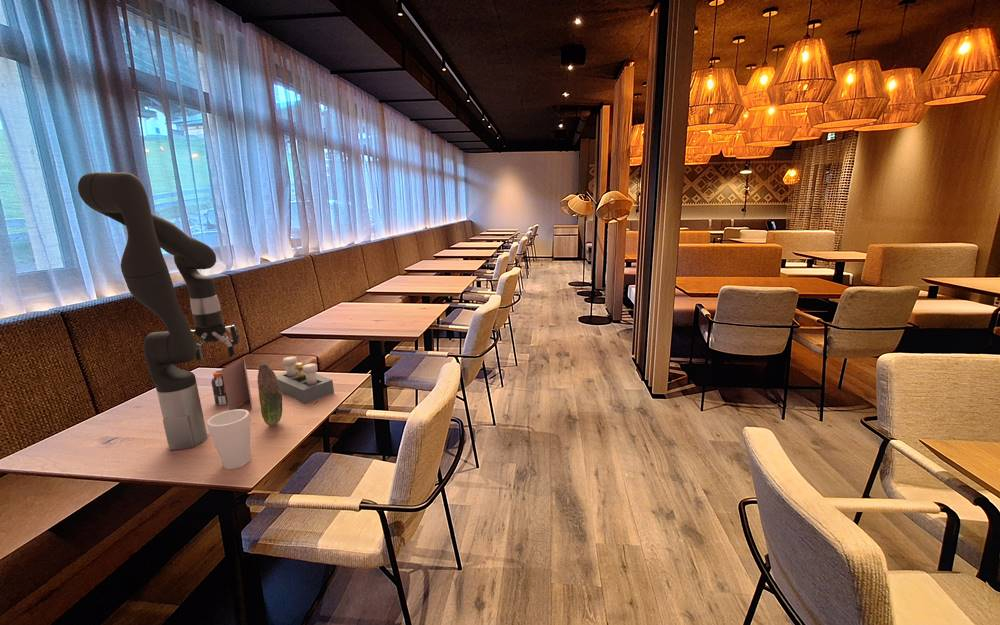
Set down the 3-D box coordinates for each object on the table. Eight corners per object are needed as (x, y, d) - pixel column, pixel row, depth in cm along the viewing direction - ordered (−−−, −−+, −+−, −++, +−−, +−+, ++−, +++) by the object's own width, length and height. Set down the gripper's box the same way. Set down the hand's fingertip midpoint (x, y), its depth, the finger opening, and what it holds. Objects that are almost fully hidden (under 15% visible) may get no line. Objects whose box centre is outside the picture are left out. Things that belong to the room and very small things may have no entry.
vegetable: (262, 422, 140) (252, 362, 135) (284, 417, 143) (275, 358, 138) (264, 430, 135) (253, 368, 130) (287, 424, 138) (277, 363, 133)
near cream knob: (321, 383, 158) (319, 365, 157) (309, 388, 155) (307, 368, 153) (314, 381, 161) (312, 362, 160) (302, 385, 158) (300, 366, 156)
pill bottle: (228, 405, 153) (222, 374, 151) (211, 405, 154) (205, 374, 151) (238, 398, 159) (233, 368, 157) (222, 398, 159) (216, 368, 157)
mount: (334, 392, 161) (332, 379, 160) (305, 403, 152) (303, 390, 151) (302, 380, 174) (300, 367, 173) (274, 389, 166) (272, 376, 165)
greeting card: (249, 397, 159) (242, 357, 156) (268, 397, 159) (262, 357, 155) (227, 412, 148) (219, 369, 145) (248, 412, 148) (240, 369, 144)
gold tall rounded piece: (309, 379, 163) (307, 362, 161) (300, 383, 160) (297, 365, 158) (304, 377, 165) (301, 360, 163) (294, 380, 162) (292, 363, 161)
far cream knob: (301, 375, 167) (298, 357, 165) (289, 379, 163) (286, 361, 162) (295, 373, 170) (292, 355, 168) (283, 377, 166) (280, 359, 165)
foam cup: (263, 452, 123) (255, 408, 120) (246, 471, 114) (237, 425, 111) (228, 453, 122) (220, 410, 119) (208, 473, 113) (198, 426, 110)
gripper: (175, 316, 133) (187, 366, 138) (229, 310, 138) (239, 359, 142) (183, 309, 140) (194, 357, 144) (234, 304, 144) (243, 351, 149)
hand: (216, 358), depth 143 cm, fingers open, 8 cm apart
